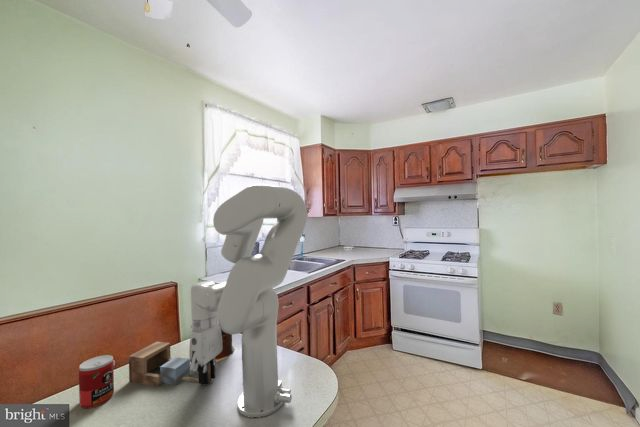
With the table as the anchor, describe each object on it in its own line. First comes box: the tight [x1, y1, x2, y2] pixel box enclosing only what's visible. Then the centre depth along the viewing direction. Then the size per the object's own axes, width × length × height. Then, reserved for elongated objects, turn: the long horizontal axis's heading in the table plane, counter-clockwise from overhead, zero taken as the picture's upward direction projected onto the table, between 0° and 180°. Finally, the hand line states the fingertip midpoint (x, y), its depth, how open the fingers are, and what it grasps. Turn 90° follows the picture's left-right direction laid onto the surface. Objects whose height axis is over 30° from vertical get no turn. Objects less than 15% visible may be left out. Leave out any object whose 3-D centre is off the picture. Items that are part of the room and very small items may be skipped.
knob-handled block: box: [159, 356, 212, 386], centre depth 85 cm, size 16×6×6 cm, turn 74°
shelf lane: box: [128, 341, 174, 388], centre depth 88 cm, size 12×10×8 cm
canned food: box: [78, 354, 115, 409], centre depth 77 cm, size 8×8×11 cm
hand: (207, 380), depth 83 cm, fingers closed on knob-handled block, 2 cm apart
